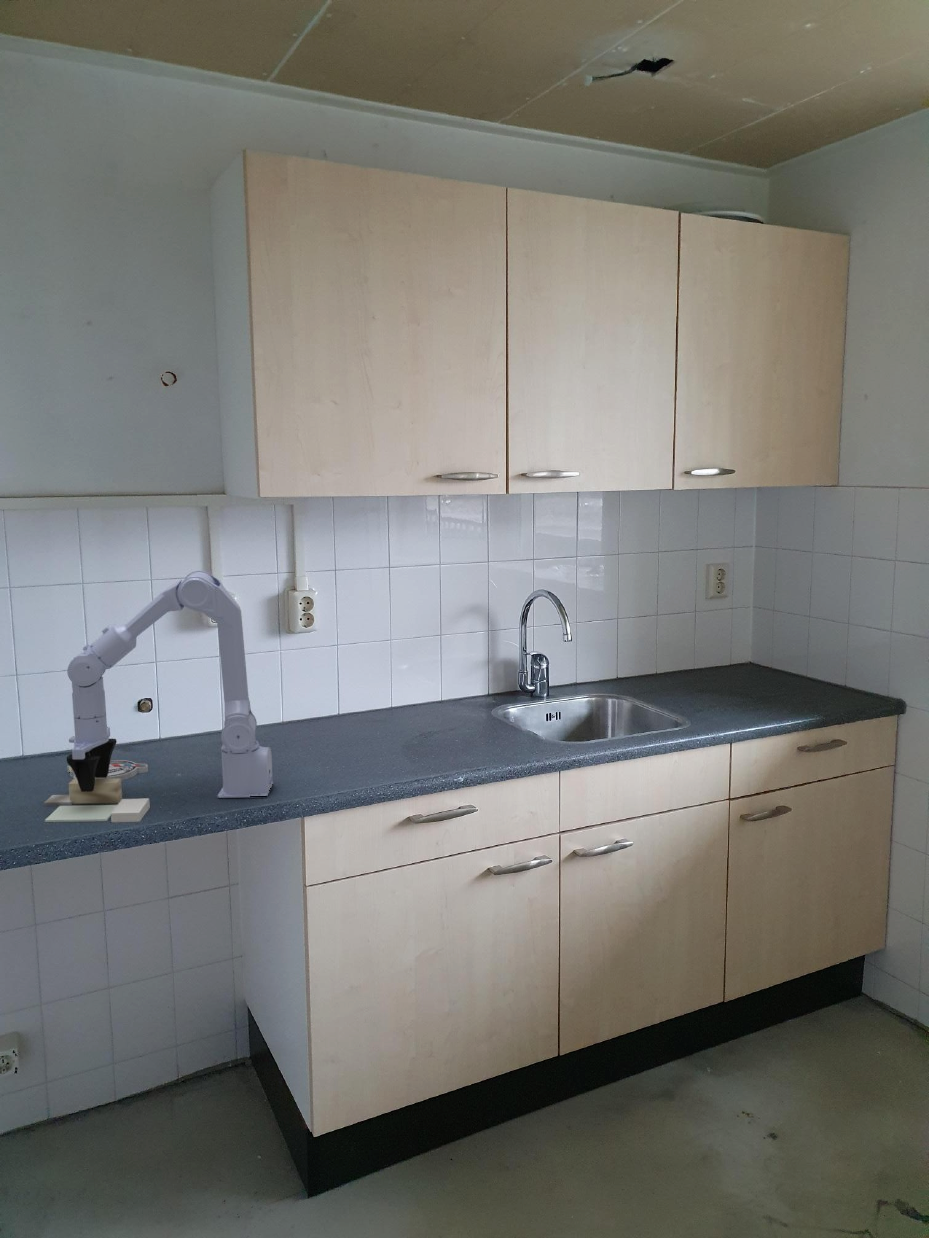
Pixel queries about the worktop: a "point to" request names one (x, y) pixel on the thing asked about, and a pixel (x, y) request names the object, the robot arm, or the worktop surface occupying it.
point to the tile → (130, 810)
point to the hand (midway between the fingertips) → (94, 783)
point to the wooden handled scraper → (90, 793)
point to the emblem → (119, 770)
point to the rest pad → (81, 813)
